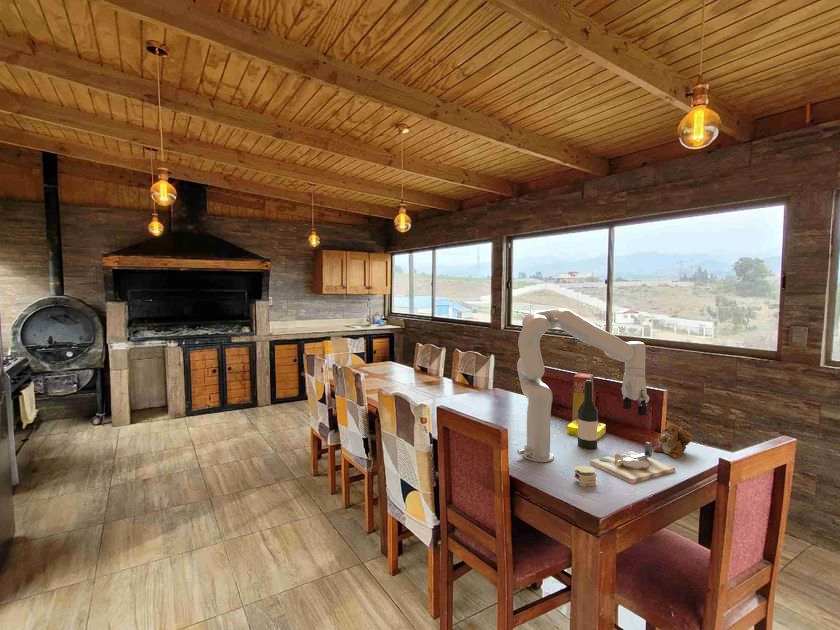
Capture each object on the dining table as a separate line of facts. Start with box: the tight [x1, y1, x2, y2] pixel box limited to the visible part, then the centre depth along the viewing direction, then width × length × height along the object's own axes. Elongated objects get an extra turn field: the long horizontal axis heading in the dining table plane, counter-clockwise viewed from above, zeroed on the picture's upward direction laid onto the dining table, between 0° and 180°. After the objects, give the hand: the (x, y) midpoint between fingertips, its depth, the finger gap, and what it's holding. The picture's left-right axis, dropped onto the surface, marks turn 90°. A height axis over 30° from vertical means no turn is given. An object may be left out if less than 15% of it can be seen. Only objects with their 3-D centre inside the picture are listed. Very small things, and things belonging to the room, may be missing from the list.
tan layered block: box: [573, 465, 598, 487], centre depth 148 cm, size 10×9×6 cm
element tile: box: [566, 419, 607, 441], centre depth 202 cm, size 15×15×5 cm
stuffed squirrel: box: [652, 421, 694, 459], centre depth 176 cm, size 10×14×13 cm
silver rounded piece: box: [614, 441, 653, 470], centre depth 162 cm, size 19×12×7 cm, turn 114°
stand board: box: [589, 450, 676, 484], centre depth 161 cm, size 24×19×2 cm
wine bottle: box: [577, 380, 599, 451], centre depth 183 cm, size 8×8×30 cm
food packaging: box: [571, 372, 595, 422], centre depth 221 cm, size 13×9×25 cm
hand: (634, 411), depth 172 cm, fingers open, 9 cm apart
